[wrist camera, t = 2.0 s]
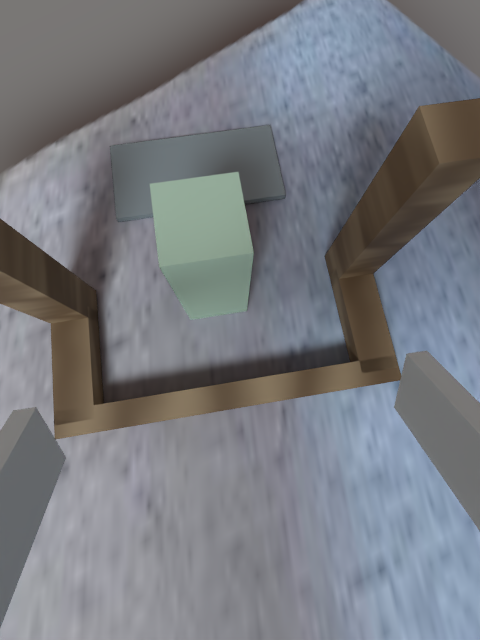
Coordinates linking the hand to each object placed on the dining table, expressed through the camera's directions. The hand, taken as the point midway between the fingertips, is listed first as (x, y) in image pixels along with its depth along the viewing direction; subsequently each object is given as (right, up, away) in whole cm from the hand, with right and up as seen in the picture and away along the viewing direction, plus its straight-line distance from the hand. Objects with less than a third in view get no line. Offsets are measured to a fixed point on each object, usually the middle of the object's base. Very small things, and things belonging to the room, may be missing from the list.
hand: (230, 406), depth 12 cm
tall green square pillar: (-2, +6, +17) cm, 18 cm away
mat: (-4, +17, +20) cm, 27 cm away
